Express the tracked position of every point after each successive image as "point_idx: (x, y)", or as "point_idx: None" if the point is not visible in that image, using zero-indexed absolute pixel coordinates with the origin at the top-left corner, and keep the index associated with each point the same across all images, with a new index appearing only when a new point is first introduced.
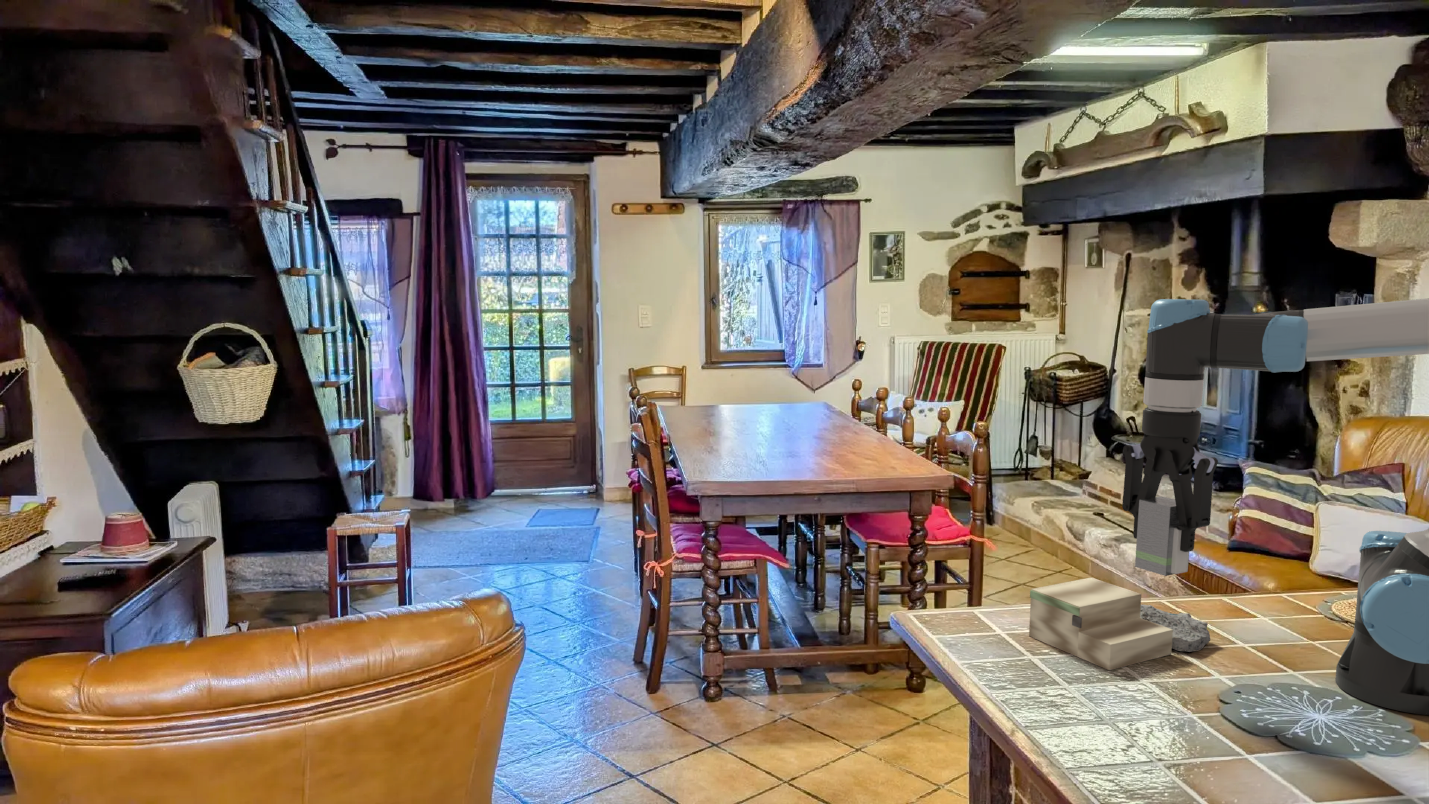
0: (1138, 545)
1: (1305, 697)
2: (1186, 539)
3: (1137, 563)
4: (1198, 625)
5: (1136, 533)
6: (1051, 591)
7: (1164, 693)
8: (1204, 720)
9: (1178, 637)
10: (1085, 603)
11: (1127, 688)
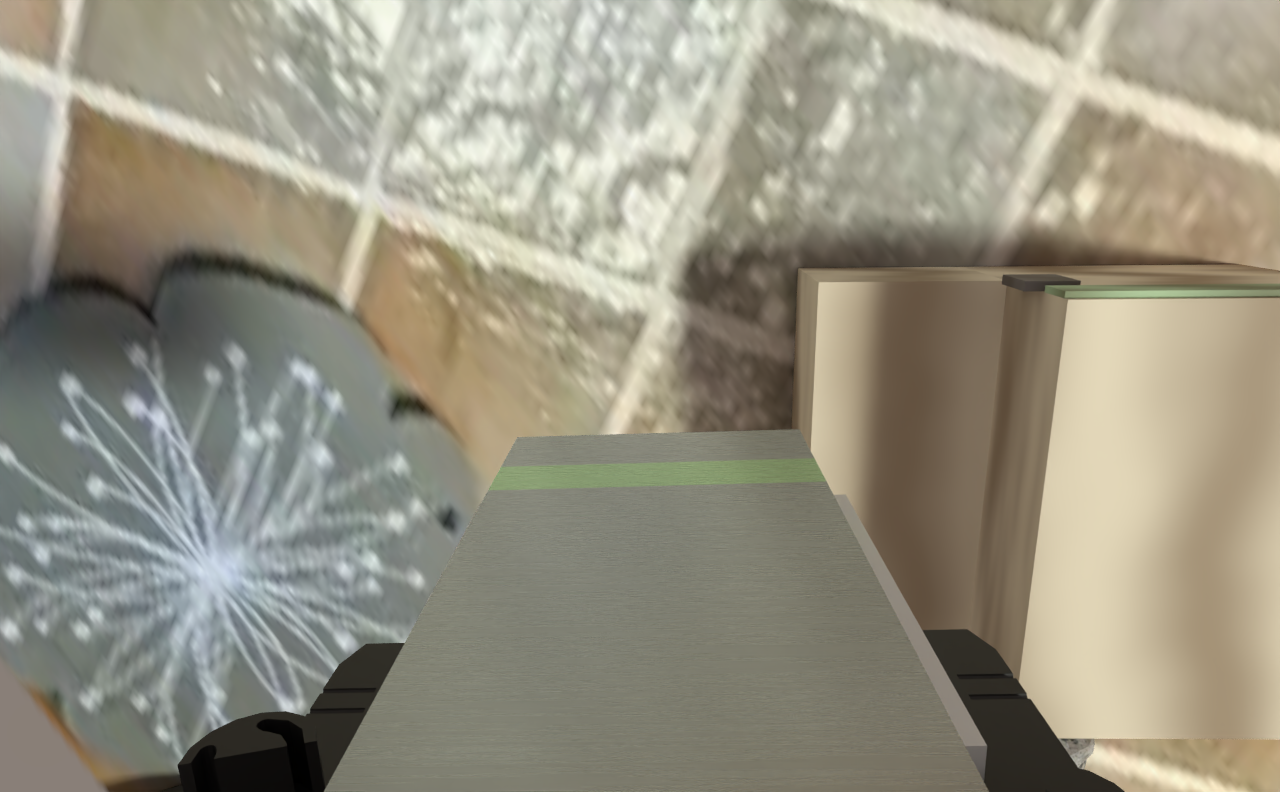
0: (812, 504)
1: (331, 666)
2: (321, 726)
3: (782, 441)
4: None
5: (961, 662)
6: None
7: (547, 277)
8: (321, 203)
9: None
10: (1087, 375)
11: (642, 185)
